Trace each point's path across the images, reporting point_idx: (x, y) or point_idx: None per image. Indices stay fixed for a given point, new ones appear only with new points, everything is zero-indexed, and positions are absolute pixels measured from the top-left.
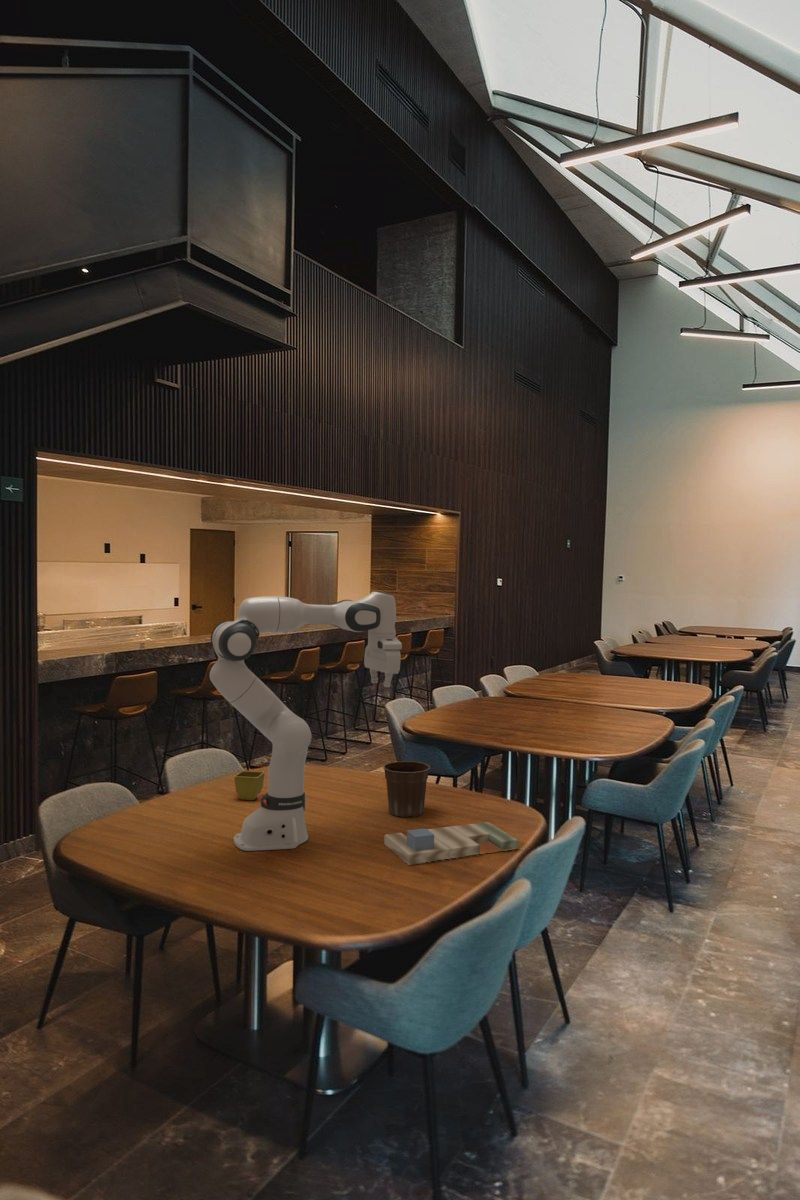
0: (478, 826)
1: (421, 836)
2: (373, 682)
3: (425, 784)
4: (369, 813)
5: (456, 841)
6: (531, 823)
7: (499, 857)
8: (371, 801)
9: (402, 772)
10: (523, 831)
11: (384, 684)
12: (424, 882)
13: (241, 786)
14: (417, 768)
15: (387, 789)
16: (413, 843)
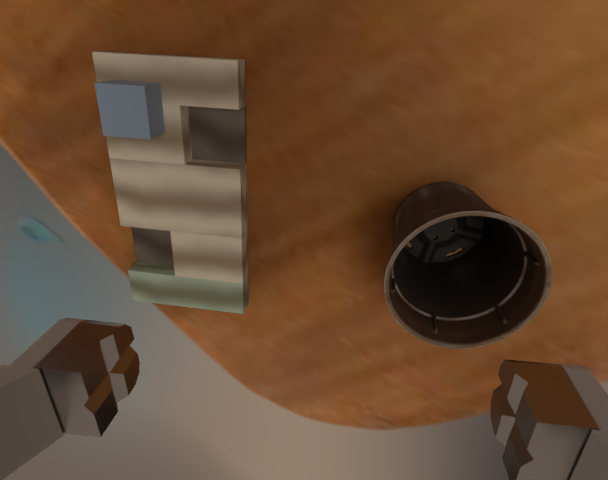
0: (223, 283)
1: (97, 100)
2: (507, 363)
3: (405, 292)
4: (485, 133)
5: (149, 195)
6: (259, 386)
7: (114, 242)
8: (580, 188)
9: (404, 238)
10: (225, 351)
11: (76, 335)
12: (13, 37)
13: None
14: (486, 325)
15: (473, 200)
16: (114, 81)
